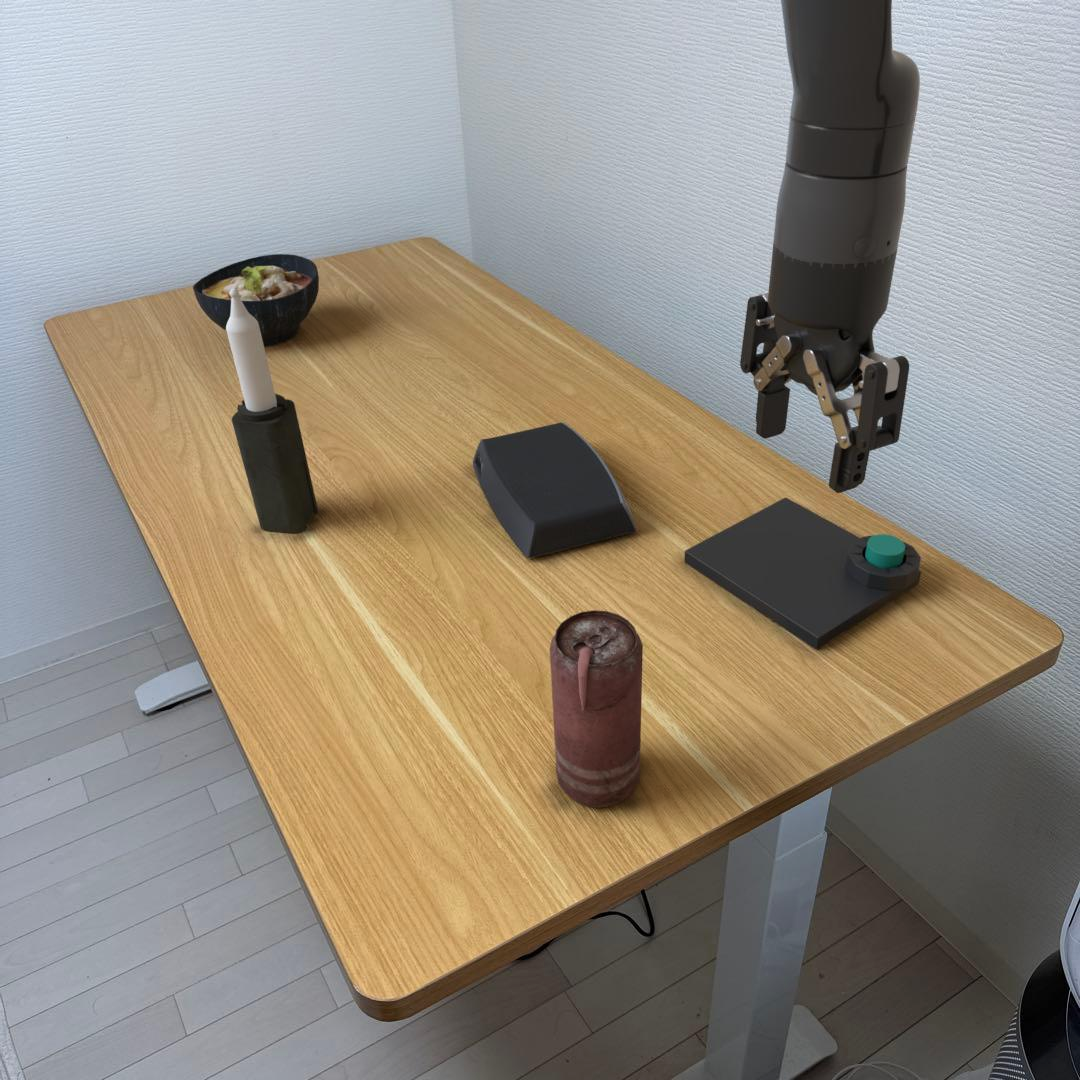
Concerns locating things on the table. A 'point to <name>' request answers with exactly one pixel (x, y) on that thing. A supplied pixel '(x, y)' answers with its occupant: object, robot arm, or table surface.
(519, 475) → the hard drive
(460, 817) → the table surface
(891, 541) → the button
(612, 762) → the can
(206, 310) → the bowl
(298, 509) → the candle
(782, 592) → the scale
